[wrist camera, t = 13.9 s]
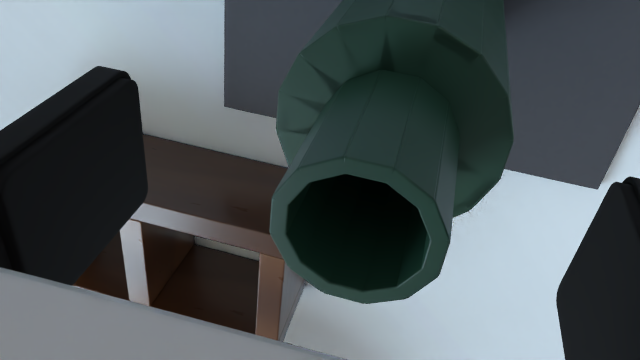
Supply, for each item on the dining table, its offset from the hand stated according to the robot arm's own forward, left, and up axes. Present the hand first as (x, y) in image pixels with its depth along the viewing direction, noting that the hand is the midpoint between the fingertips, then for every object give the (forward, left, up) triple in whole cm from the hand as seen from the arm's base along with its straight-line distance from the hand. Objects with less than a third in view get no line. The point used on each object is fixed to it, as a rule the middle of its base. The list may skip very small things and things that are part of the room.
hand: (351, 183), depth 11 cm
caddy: (+16, -13, -17) cm, 27 cm away
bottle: (0, 0, -16) cm, 16 cm away
